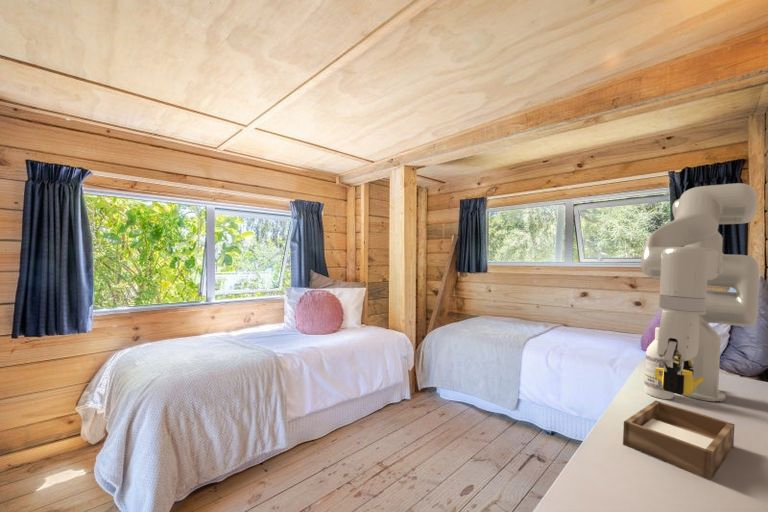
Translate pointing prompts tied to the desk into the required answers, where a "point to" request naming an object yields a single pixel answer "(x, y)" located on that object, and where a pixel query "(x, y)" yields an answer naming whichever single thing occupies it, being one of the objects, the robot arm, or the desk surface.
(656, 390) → the bath foam
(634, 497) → the desk surface
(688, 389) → the teapot
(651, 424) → the plate
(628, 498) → the desk surface
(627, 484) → the desk surface
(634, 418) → the box
